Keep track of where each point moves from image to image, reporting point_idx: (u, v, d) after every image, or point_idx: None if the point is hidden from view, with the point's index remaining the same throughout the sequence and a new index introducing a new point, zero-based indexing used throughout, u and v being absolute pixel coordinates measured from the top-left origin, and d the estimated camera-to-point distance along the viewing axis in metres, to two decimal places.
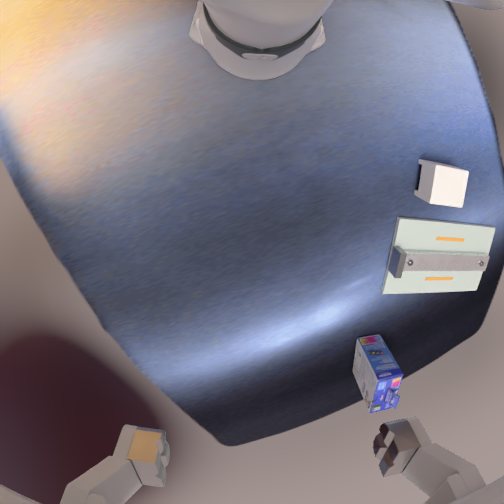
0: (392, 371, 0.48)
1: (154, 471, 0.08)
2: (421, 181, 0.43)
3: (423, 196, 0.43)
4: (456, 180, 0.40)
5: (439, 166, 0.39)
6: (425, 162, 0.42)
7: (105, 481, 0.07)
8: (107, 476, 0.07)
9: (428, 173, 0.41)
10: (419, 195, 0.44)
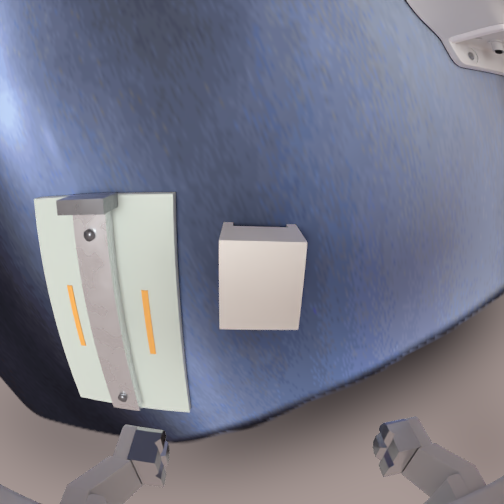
0: None
1: (154, 471, 0.08)
2: (255, 228, 0.24)
3: (228, 232, 0.23)
4: (276, 302, 0.23)
5: (303, 252, 0.22)
6: (297, 230, 0.24)
7: (105, 480, 0.07)
8: (107, 476, 0.07)
9: (280, 234, 0.23)
10: (226, 227, 0.24)
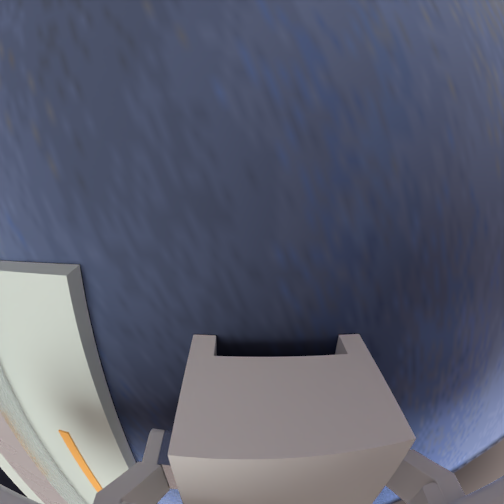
0: None
1: None
2: (271, 370, 0.09)
3: (200, 398, 0.08)
4: None
5: (400, 456, 0.06)
6: (372, 370, 0.09)
7: (136, 487, 0.07)
8: (138, 482, 0.07)
9: (339, 403, 0.08)
10: (196, 368, 0.09)
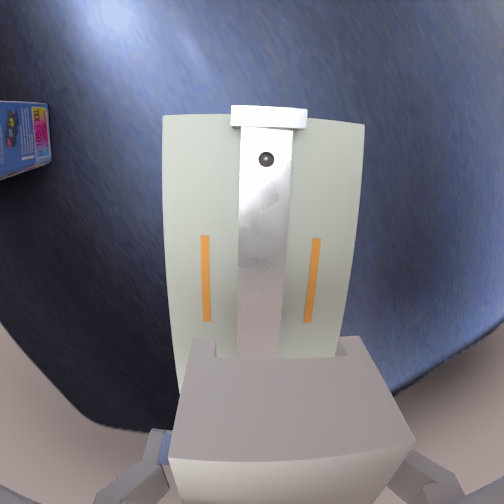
0: None
1: None
2: (271, 372, 0.09)
3: (200, 400, 0.08)
4: None
5: (400, 458, 0.06)
6: (372, 372, 0.09)
7: (136, 487, 0.07)
8: (138, 482, 0.07)
9: (339, 406, 0.08)
10: (196, 370, 0.09)
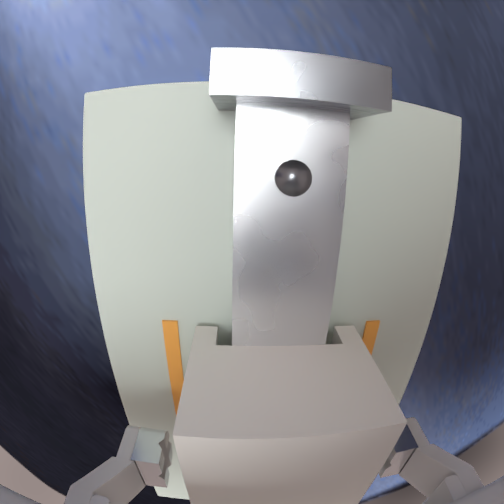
0: None
1: (158, 471, 0.08)
2: (269, 358, 0.10)
3: (203, 383, 0.08)
4: None
5: (393, 439, 0.07)
6: (366, 358, 0.10)
7: (108, 482, 0.07)
8: (111, 477, 0.07)
9: (334, 389, 0.08)
10: (199, 356, 0.10)
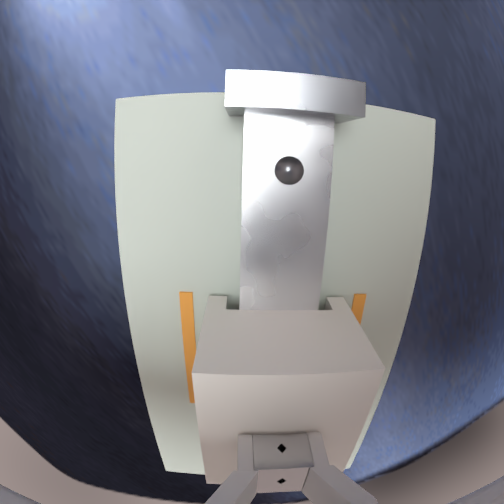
0: None
1: (279, 476, 0.08)
2: (271, 318, 0.12)
3: (216, 336, 0.11)
4: None
5: (374, 385, 0.09)
6: (352, 321, 0.12)
7: (238, 497, 0.07)
8: (240, 492, 0.07)
9: (324, 341, 0.10)
10: (212, 317, 0.12)
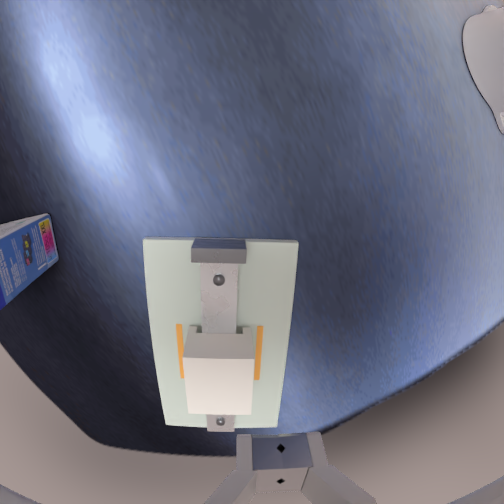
0: None
1: (278, 476, 0.08)
2: (214, 337, 0.28)
3: (191, 344, 0.27)
4: (232, 398, 0.26)
5: (251, 365, 0.25)
6: (249, 339, 0.28)
7: (238, 497, 0.07)
8: (239, 492, 0.07)
9: (233, 347, 0.27)
10: (190, 336, 0.28)
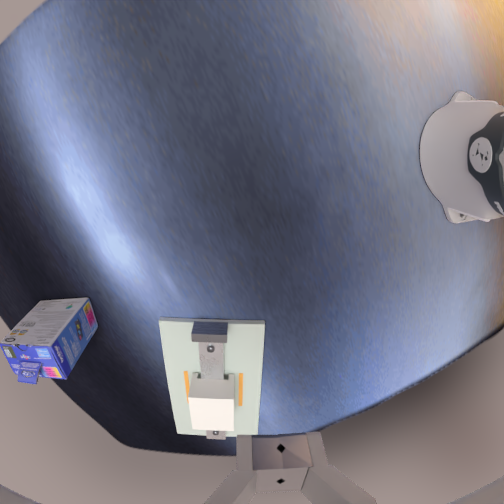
0: (65, 362, 0.31)
1: (278, 476, 0.08)
2: (209, 382, 0.41)
3: (194, 387, 0.39)
4: (220, 420, 0.39)
5: (232, 403, 0.38)
6: (232, 384, 0.41)
7: (238, 497, 0.07)
8: (239, 492, 0.07)
9: (221, 390, 0.39)
10: (193, 381, 0.41)
